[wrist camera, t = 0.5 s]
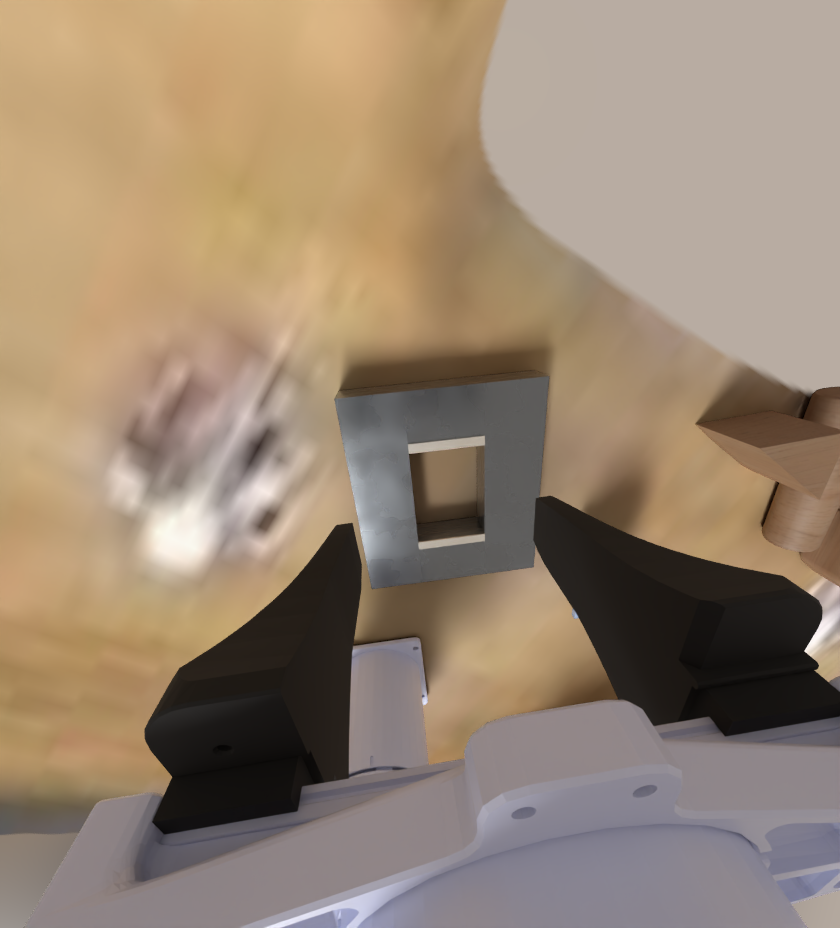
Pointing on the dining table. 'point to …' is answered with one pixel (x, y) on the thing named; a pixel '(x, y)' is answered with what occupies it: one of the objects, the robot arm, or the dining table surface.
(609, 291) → the dining table surface
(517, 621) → the dining table surface
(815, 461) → the wooden block set
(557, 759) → the robot arm
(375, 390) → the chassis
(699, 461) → the dining table surface
